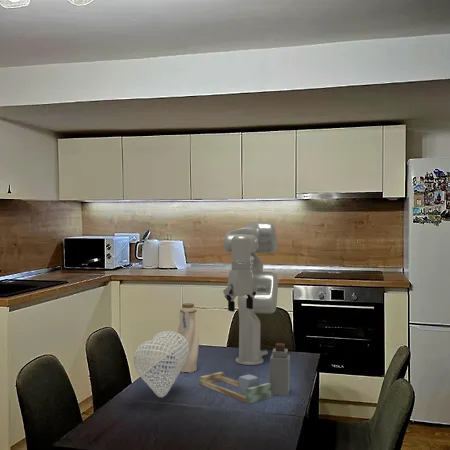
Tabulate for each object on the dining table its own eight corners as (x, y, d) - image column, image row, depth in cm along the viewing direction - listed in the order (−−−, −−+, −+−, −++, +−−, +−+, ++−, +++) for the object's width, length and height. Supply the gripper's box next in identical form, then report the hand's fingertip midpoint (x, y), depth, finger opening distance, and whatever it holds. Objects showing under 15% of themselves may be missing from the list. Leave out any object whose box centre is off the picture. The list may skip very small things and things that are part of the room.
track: (221, 379, 221) (221, 366, 220) (271, 397, 199) (271, 383, 199) (199, 384, 213) (199, 371, 213) (248, 403, 192) (249, 389, 192)
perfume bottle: (287, 395, 201) (288, 346, 201) (269, 394, 202) (270, 345, 202) (289, 390, 208) (290, 342, 207) (271, 388, 209) (272, 341, 209)
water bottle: (197, 374, 227) (198, 306, 226) (175, 374, 227) (176, 306, 226) (199, 367, 237) (199, 302, 236) (178, 367, 237) (178, 302, 237)
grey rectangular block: (249, 393, 204) (249, 374, 204) (258, 396, 200) (258, 377, 200) (239, 395, 201) (239, 376, 201) (248, 399, 197) (248, 380, 197)
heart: (170, 412, 183) (170, 346, 183) (126, 408, 187) (127, 343, 186) (193, 386, 211) (193, 328, 210) (154, 383, 214) (155, 326, 213)
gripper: (250, 264, 226) (250, 306, 227) (218, 267, 215) (217, 310, 216) (263, 266, 221) (262, 308, 221) (230, 268, 209) (230, 313, 210)
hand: (240, 309), depth 218 cm, fingers open, 9 cm apart
